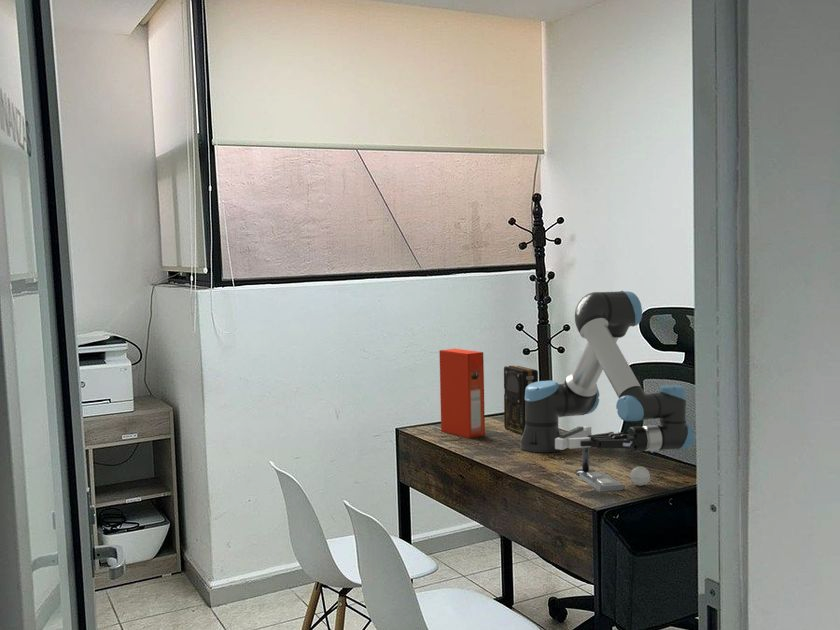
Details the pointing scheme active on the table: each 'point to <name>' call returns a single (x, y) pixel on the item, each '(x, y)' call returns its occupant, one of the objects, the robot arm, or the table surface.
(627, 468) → the table surface
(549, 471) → the table surface
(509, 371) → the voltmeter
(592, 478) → the plate
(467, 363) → the file binder
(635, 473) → the white egg shape
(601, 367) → the robot arm
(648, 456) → the table surface
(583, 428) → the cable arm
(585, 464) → the post
